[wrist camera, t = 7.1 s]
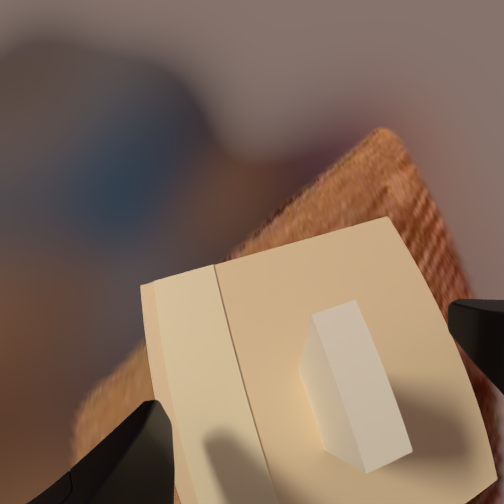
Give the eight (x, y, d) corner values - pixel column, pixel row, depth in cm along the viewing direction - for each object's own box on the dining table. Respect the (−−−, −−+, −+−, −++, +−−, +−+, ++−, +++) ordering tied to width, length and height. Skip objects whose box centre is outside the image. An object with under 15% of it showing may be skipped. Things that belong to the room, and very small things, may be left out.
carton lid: (488, 478, 6) (593, 476, 1) (217, 580, 5) (164, 663, 1) (384, 224, 12) (419, 116, 8) (146, 292, 12) (71, 200, 7)
